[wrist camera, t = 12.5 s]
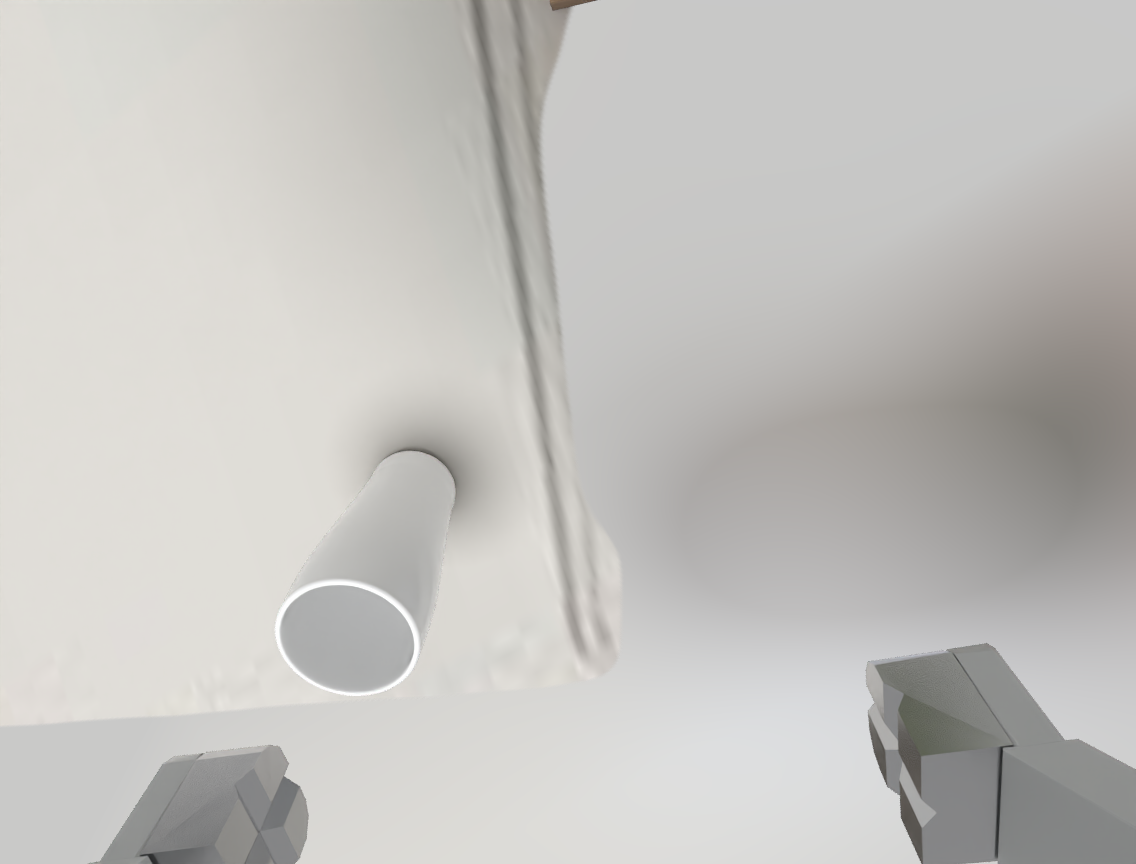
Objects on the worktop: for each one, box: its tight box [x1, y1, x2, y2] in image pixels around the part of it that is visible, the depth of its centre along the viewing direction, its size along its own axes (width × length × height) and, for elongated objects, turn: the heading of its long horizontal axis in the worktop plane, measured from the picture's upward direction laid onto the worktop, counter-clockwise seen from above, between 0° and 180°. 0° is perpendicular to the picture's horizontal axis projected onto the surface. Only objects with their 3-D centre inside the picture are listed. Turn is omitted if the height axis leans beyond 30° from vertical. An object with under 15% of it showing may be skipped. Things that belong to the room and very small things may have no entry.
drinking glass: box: [275, 451, 456, 696], centre depth 41 cm, size 7×7×15 cm
